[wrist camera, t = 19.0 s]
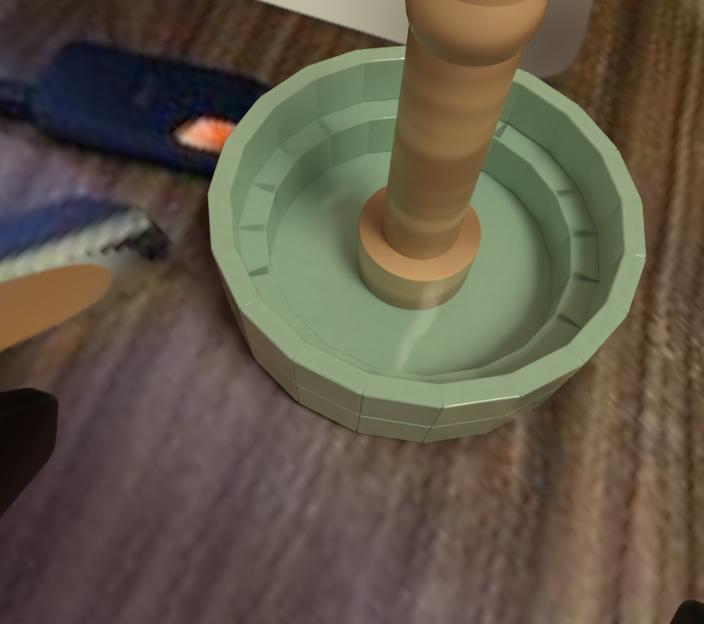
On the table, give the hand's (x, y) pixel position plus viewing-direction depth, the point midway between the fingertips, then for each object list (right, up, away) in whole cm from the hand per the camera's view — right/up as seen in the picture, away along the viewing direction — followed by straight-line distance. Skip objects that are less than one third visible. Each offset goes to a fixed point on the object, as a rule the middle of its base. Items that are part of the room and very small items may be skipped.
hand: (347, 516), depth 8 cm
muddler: (+3, +5, +17) cm, 18 cm away
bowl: (+3, +5, +18) cm, 18 cm away
